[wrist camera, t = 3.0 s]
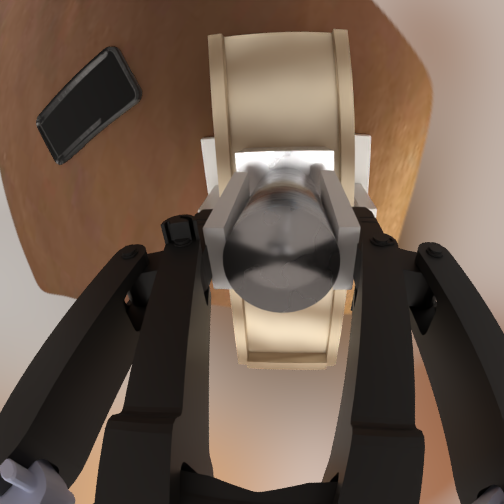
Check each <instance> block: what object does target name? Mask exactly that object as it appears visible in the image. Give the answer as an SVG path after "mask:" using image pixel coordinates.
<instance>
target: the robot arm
mask: <svg viewBox="0 0 504 504" xmlns="http://www.w3.org/2000/svg"><path fill="white" fill-rule="evenodd" d="M249 198H250V188H249V177H248V172H234V174H233V175H232V177H231V179H230V181H229V182H228V184H227V186H226V187H225V189H224V191H223V193H222V194H221V196H220V198H219V200H218V202H217V203H216V205H215V207H214V209H203V210H201V211H200V212H198V213H197V214H195V216H192V215H177V216H173V217H171V218H168V219H167V220H165V221H164V222H163V223H162V224H161V228H162V232H163V236H164V240H165V244H166V245H165V248H164V251H160V252H155V253H150V254H147V252H146V248H145V247H144V246H143V245H139V244H135V245H133V244H132V245H129V246H125V247H124V248H122V249H120V250H119V251H118V252H117V253H116V254H115V255H114V256H113V257H112V258H111V259H110V261H109V262H108V263H107V264H106V265H105V266H104V267H103V269H102V270H101V271H100V272H99V273H98V275H97V276H96V277H95V278H94V279H93V280H92V282H91V283H90V284H89V285H88V286H87V288H86V289H85V290H84V291H83V293H82V294H81V295H80V296H79V298H78V299H77V300H76V301H75V303H74V304H73V305H72V306H71V308H70V309H69V310H68V312H67V313H66V314H65V316H64V317H63V318H62V320H61V321H60V322H59V323H58V325H57V326H56V328H55V329H54V330H53V332H52V333H51V334H50V336H49V337H48V339H47V340H46V341H45V343H44V344H43V346H42V347H41V349H40V350H39V352H38V353H37V354H36V356H35V357H34V359H33V360H32V362H31V363H30V365H29V366H28V368H27V369H26V371H25V373H24V374H23V376H22V377H21V379H20V380H19V382H18V384H17V385H16V387H15V389H14V390H13V392H12V393H11V395H10V397H9V399H8V400H7V402H6V404H5V405H4V407H3V409H2V411H1V413H0V504H75V497H74V495H73V494H72V493H71V492H70V491H69V490H68V489H69V488H70V486H71V485H72V484H73V483H74V482H75V480H76V479H77V477H78V476H79V474H80V473H81V471H82V469H83V467H84V465H85V463H86V461H87V459H88V457H89V455H90V452H91V450H92V448H93V445H94V443H95V441H96V438H97V436H98V434H99V432H100V430H101V427H102V425H103V423H104V421H105V419H106V417H107V414H108V412H109V410H110V408H111V406H112V404H113V402H114V399H115V398H116V395H117V393H118V391H119V389H120V387H121V385H122V383H123V381H124V379H125V377H126V375H127V373H128V371H129V369H130V367H131V365H132V368H131V372H130V377H129V382H128V387H127V391H126V397H125V402H124V406H123V409H122V412H121V413H119V414H115V415H112V416H111V417H110V418H109V419H108V422H107V424H106V428H105V432H104V438H103V444H102V449H101V456H100V462H99V469H98V477H97V485H96V494H95V503H94V504H419V500H420V493H421V484H422V476H423V466H424V451H425V442H424V435H423V433H422V431H421V430H419V429H417V428H416V426H415V383H414V382H415V380H414V359H413V345H412V335H411V334H412V333H411V330H412V332H413V335H414V338H415V340H416V343H417V346H418V348H419V351H420V354H421V357H422V360H423V362H424V365H425V368H426V371H427V374H428V377H429V380H430V383H431V387H432V390H433V393H434V396H435V400H436V403H437V407H438V410H439V414H440V418H441V421H442V425H443V429H444V433H445V438H446V441H447V446H448V451H449V455H450V460H451V466H452V471H453V477H454V481H455V486H456V490H457V493H458V496H459V499H460V503H461V504H504V333H503V331H502V330H501V328H500V326H499V325H498V323H497V321H496V319H495V318H494V316H493V315H492V313H491V311H490V310H489V308H488V306H487V305H486V303H485V302H484V300H483V299H482V297H481V296H480V294H479V292H478V291H477V290H476V288H475V287H474V285H473V284H472V282H471V281H470V279H469V278H468V276H467V275H466V274H465V273H464V271H463V270H462V268H461V267H460V265H459V264H458V263H457V261H456V260H455V259H454V257H453V256H452V255H451V254H450V252H449V251H448V250H447V249H446V248H444V247H442V246H441V245H440V244H436V243H434V242H432V243H430V242H425V243H422V244H420V245H419V247H418V251H417V252H412V251H407V250H403V249H400V248H398V243H397V241H396V240H395V239H394V238H393V237H391V236H389V235H387V234H384V233H383V231H382V229H381V227H380V225H379V223H378V222H377V220H376V218H375V216H374V214H373V213H372V211H370V210H369V209H367V208H366V207H351V204H350V202H349V200H348V198H347V196H346V194H345V191H344V189H343V187H342V185H341V183H340V181H339V179H338V177H337V175H336V173H335V171H333V170H321V182H320V199H321V202H322V204H323V207H324V209H325V212H326V215H327V217H328V220H329V222H330V225H331V228H332V231H333V233H334V236H335V239H336V242H337V245H338V248H339V252H340V269H339V273H338V277H337V279H336V281H335V284H334V285H333V290H349V289H352V285H353V279H354V282H355V290H354V296H353V301H352V306H351V311H352V321H351V333H350V341H349V351H348V358H347V367H346V373H345V381H344V387H343V393H342V400H341V405H340V411H339V416H338V422H337V427H336V432H335V437H334V441H333V446H332V450H331V455H330V459H329V462H328V465H327V468H326V471H325V474H324V477H323V480H322V482H321V483H306V484H302V485H297V486H292V487H287V488H282V489H277V490H271V491H265V492H253V491H250V490H247V489H244V488H241V487H238V486H235V485H232V484H229V483H227V482H224V481H221V480H219V479H216V478H214V477H213V468H212V463H211V459H210V454H209V344H210V342H209V341H210V312H211V292H210V287H209V285H210V282H211V279H212V281H213V286H214V289H233V288H232V287H231V285H230V284H229V282H228V280H227V278H226V275H225V272H224V267H223V250H224V246H225V243H226V241H227V238H228V236H229V234H230V233H231V231H232V229H233V227H234V225H235V223H236V222H237V220H238V218H239V216H240V214H241V212H242V211H243V209H244V207H245V205H246V203H247V202H248V200H249ZM127 294H128V297H129V299H130V300H129V301H128V303H127V304H126V303H125V301H124V299H125V297H126V295H127ZM436 301H437V302H436Z"/></svg>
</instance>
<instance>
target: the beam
mask: <svg viewBox="0 0 504 504" xmlns="http://www.w3.org/2000/svg"><path fill="white" fill-rule="evenodd" d="M208 48H209V66H210V82H211V98H212V112H213V125H214V138H215V151H216V163H217V174H218V185H219V196H221V194H222V193H223V191H224V189H225V187H226V186H227V184H228V182H229V181H230V179H231V177H232V175H233V174H234V172H236V159H235V153H236V152H238V151H240V150H242V149H244V148H260V147H304V146H310V147H327V148H329V149H331V150H333V151H334V171H335V173H336V175H337V177H338V179H339V181H340V183H341V185H342V187H343V189H344V191H345V194H346V196H347V198H348V200H349V202H350V204H351V207H354V185H355V122H354V98H353V82H352V69H351V58H350V48H349V39H348V31H347V30H342V29H333V32H332V33H323V32H278V33H260V34H248V35H238V36H229V37H224V36H223V35H222V34H215V35H208ZM229 291H230V300H231V308H232V315H233V324H234V332H235V340H236V348H237V355H238V363H239V364H245V365H247V368H257V369H288V370H320V369H326V366H335V364H336V358H337V353H338V347H339V341H340V335H341V327H342V321H343V315H344V308H345V300H346V292H347V290H333V287H332V288H331V290H330V291H329V292H328V293H327V295H326V296H325V297H323V298H322V299H321V300H320V301H318V302H317V303H316V304H314V305H312V306H310V307H308V308H305V309H303V310H299V311H295V312H289V313H277V312H270V311H266V310H262V309H259V308H257V307H255V306H253V305H251V304H249V303H248V302H246V301H245V300H243V299H242V298H241V297H240V296H239V295H238V294H237V293H236V292H235V291H234V290H233V289H229Z"/></svg>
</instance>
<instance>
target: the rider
mask: <svg viewBox="0 0 504 504" xmlns="http://www.w3.org/2000/svg"><path fill="white" fill-rule="evenodd" d="M235 159H236V172H248V177H249V188H250V198H249V200H248V202H247V203H246V205H245V207H244V209H243V211H242V212H241V214H240V216H239V218H238V220H237V222H236V223H235V225H234V227H233V229H232V231H231V233H230V234H229V236H228V238H227V241H226V243H225V246H224V250H223V267H224V272H225V275H226V278H227V280H228V282H229V284H230V285H231V287H232V288H233V290H234V291H235V292H236V293H237V294H238V295H239V296H240V297H241V298H242V299H243V300H245V301H246V302H248V303H249V304H251V305H253V306H255V307H257V308H259V309H262V310H266V311H270V312H277V313H289V312H295V311H299V310H303V309H305V308H308V307H310V306H312V305H314V304H316V303H317V302H318V301H320V300H321V299H322V298H323V297H325V296H326V295H327V293H328V292H329V291H330V290H331V288H332V287H333V285H334V284H335V281H336V279H337V277H338V273H339V269H340V252H339V248H338V245H337V242H336V239H335V236H334V233H333V231H332V228H331V225H330V222H329V220H328V217H327V215H326V212H325V209H324V207H323V204H322V202H321V199H320V182H321V170H333V171H334V151H333V150H331V149H329V148H327V147H310V146H304V147H260V148H244V149H242V150H240V151H238V152H236V153H235Z"/></svg>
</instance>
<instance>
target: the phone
mask: <svg viewBox="0 0 504 504" xmlns="http://www.w3.org/2000/svg"><path fill="white" fill-rule="evenodd" d="M129 71H130V72H129ZM130 73H131V74H130ZM137 84H138V83H137V81H136V79H135V77H134V75H133V73H132V72H131V70H130V68H129V66H128V64H127V62H126V61H125V59H124V57H123V55H122V53H121V51H120V50H119V49H118V48H117V47H107V48H105V49H104V50H102V51H101V52H100V53H99V54H98V55H97V56H95V57H94V58H93V59H92V60H91V61H90V62H89V63H88V64H87V65H86V66H85V67H83V68H82V69H81V70H80V71H79V72H78V73H77V74H76V75H75V76H74V77H73V78H72V79H71V80H70V81H69V82H68V83H67V84H66V85H65V86H64V87H63V88H62V90H61V91H60V92H59V93H58V94H57V95H56V96H55V97H54V98H53V99H52V100H51V102H50V103H49V104H48V105H47V106H46V107H45V109H44V110H43V111H42V112H41V113H40V114H39V116H38V117H37V120H36V125H37V128H38V130H39V132H40V134H41V136H42V138H43V140H44V142H45V144H46V146H47V148H48V149H49V151H50V153H51V155H52V157H53V159H54V160H55V162H56V163H57V164H59V165H62V164H64V163H65V162H67V161H68V160H69V159H71V158H72V156H73V155H75V154H76V153H77V152H78V151H79V150H81V149H82V148H83V147H84V146H85V145H86V144H87V143H88V142H89V141H90V140H91V139H92V138H94V137H95V136H96V135H97V134H98V133H100V132H101V131H102V130H103V129H104V128H106V127H107V126H108V125H109V124H111V123H112V122H113V121H114V120H116V119H117V118H118V117H120V116H121V115H122V114H124V113H125V112H126V111H128V110H129V109H130V108H132V107H133V106H134V105H136V104H137V103H138V102H139V101H140V100H141V97H142V90H141V88H140V86H139V84H138V85H137Z"/></svg>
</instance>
